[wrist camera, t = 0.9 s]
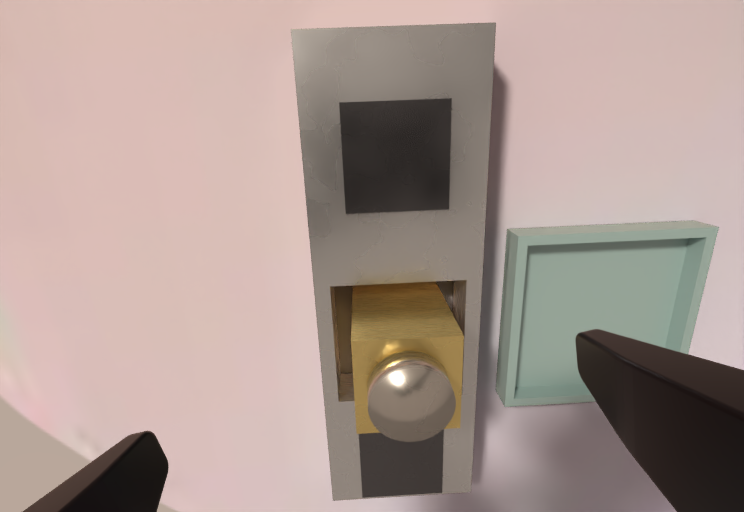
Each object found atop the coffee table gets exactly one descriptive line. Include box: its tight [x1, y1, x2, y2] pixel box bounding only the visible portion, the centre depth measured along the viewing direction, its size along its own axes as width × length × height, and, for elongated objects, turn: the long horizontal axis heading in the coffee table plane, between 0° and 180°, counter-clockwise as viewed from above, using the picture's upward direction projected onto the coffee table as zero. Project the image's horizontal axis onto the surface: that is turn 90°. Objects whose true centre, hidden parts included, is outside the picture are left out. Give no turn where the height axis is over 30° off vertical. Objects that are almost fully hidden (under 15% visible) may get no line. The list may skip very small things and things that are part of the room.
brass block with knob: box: [351, 281, 464, 442], centre depth 18 cm, size 4×4×7 cm
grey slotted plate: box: [291, 23, 496, 501], centre depth 20 cm, size 8×24×3 cm, turn 2°
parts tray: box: [496, 221, 719, 407], centre depth 21 cm, size 10×10×2 cm
